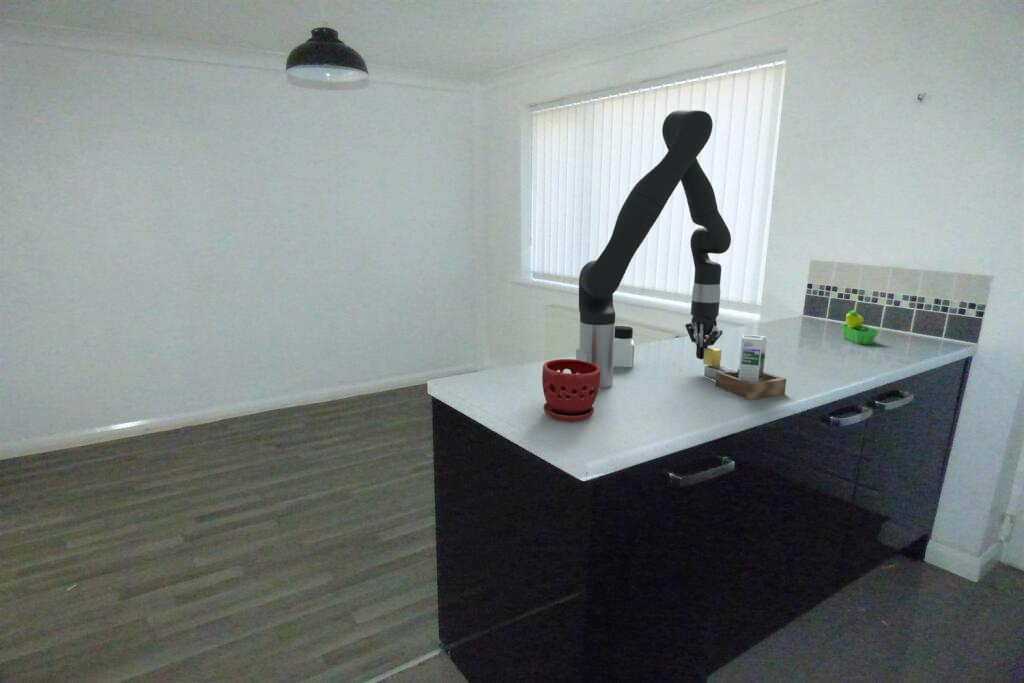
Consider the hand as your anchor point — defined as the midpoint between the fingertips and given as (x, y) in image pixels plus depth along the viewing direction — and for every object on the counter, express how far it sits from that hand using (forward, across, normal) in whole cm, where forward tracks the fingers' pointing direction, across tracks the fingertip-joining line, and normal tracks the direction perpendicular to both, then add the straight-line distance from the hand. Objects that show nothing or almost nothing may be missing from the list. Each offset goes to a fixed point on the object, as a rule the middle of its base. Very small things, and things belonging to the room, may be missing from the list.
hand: (700, 358), depth 160 cm
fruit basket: (+4, +8, -80) cm, 81 cm away
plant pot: (+4, -15, +52) cm, 54 cm away
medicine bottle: (+4, +17, +16) cm, 23 cm away
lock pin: (+3, -8, 0) cm, 9 cm away
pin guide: (+4, -8, 0) cm, 9 cm away
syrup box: (+4, -18, 0) cm, 19 cm away
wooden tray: (+4, -18, 0) cm, 19 cm away
